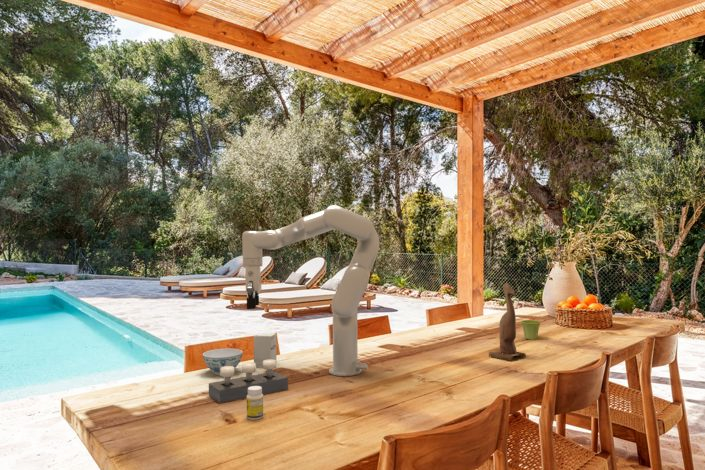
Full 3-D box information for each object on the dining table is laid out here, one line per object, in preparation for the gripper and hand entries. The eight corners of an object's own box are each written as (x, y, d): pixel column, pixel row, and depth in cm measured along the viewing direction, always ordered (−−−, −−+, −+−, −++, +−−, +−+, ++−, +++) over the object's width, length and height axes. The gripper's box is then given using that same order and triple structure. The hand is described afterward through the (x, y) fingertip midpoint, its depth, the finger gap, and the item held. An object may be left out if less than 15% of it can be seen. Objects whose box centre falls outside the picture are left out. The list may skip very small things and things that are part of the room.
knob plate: (274, 382, 174) (274, 371, 174) (288, 389, 165) (287, 377, 165) (208, 395, 160) (208, 383, 160) (219, 403, 152) (219, 390, 152)
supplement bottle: (247, 414, 142) (247, 385, 142) (264, 413, 142) (264, 385, 142) (245, 420, 137) (245, 390, 137) (262, 419, 137) (262, 390, 137)
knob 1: (231, 382, 161) (231, 365, 161) (236, 385, 158) (236, 368, 158) (218, 384, 159) (218, 367, 159) (223, 387, 155) (223, 370, 155)
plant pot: (543, 340, 242) (543, 323, 242) (524, 340, 242) (524, 323, 242) (536, 336, 251) (536, 320, 252) (518, 337, 252) (518, 320, 252)
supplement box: (270, 368, 194) (270, 336, 194) (253, 367, 196) (253, 335, 196) (277, 363, 201) (276, 332, 202) (260, 362, 203) (260, 332, 203)
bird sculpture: (512, 363, 200) (514, 285, 200) (487, 357, 208) (489, 282, 208) (526, 358, 207) (528, 283, 207) (502, 353, 216) (503, 281, 216)
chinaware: (230, 365, 198) (230, 346, 198) (250, 372, 188) (250, 352, 188) (195, 372, 188) (195, 352, 188) (215, 380, 177) (214, 359, 177)
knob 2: (272, 374, 170) (272, 358, 170) (278, 377, 166) (278, 361, 167) (260, 376, 167) (260, 360, 168) (266, 379, 164) (266, 363, 164)
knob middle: (252, 378, 166) (252, 361, 166) (257, 381, 162) (257, 364, 162) (240, 380, 163) (240, 363, 163) (245, 383, 160) (245, 366, 160)
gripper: (259, 263, 179) (260, 310, 179) (265, 261, 196) (265, 304, 196) (238, 263, 179) (239, 310, 178) (246, 262, 196) (246, 304, 196)
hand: (253, 307), depth 187 cm, fingers open, 9 cm apart
